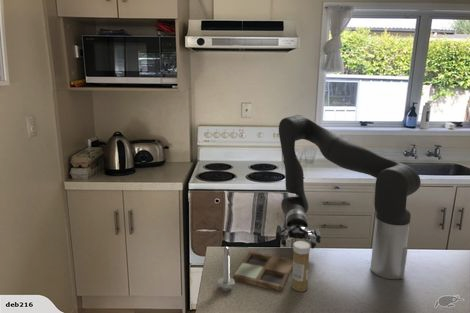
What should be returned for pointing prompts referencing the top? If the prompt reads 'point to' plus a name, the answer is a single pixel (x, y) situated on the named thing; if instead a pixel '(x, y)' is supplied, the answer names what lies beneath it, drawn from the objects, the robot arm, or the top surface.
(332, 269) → the top surface
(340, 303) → the top surface
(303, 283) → the sprinkles bottle
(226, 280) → the screw
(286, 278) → the board
